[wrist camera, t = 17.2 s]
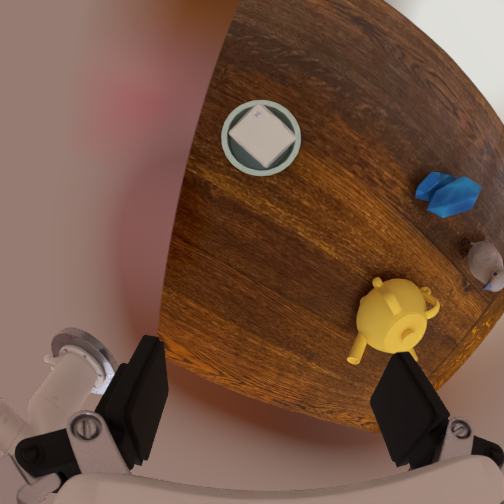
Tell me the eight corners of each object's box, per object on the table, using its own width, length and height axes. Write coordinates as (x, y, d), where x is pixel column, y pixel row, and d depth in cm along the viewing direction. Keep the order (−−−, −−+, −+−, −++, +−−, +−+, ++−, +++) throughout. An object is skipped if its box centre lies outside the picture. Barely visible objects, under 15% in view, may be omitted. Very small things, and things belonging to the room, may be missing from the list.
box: (234, 140, 36) (223, 131, 23) (256, 118, 35) (256, 98, 22) (262, 166, 37) (265, 170, 25) (284, 144, 36) (298, 137, 24)
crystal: (419, 185, 31) (483, 160, 27) (401, 174, 39) (457, 153, 34) (432, 233, 33) (492, 207, 29) (414, 215, 41) (468, 193, 36)
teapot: (334, 334, 46) (350, 376, 36) (361, 264, 42) (389, 297, 32) (397, 340, 47) (421, 376, 37) (426, 278, 43) (459, 308, 32)
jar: (221, 163, 38) (212, 164, 30) (237, 105, 35) (233, 92, 27) (282, 179, 38) (288, 185, 31) (298, 121, 35) (309, 112, 28)
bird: (436, 244, 41) (490, 278, 26) (484, 226, 39) (536, 251, 25) (437, 269, 42) (486, 308, 28) (484, 249, 41) (532, 278, 26)
